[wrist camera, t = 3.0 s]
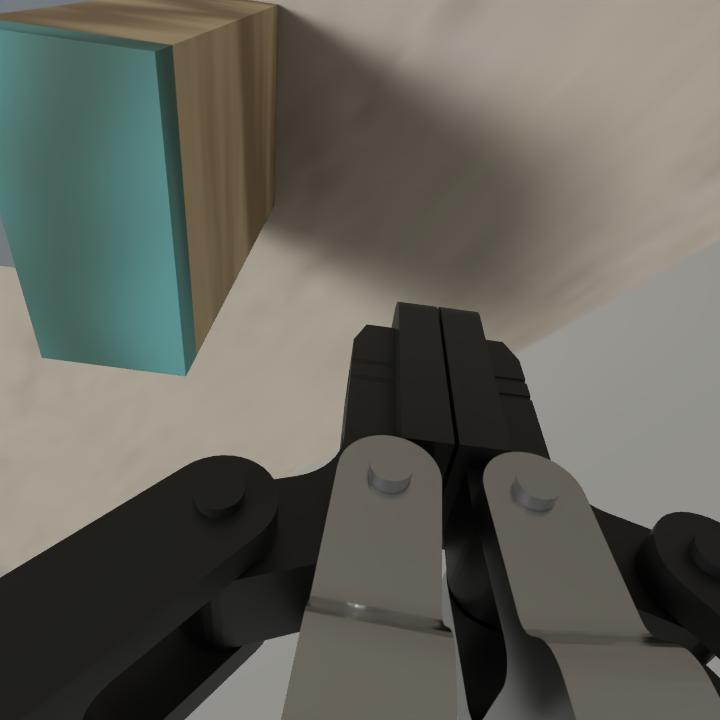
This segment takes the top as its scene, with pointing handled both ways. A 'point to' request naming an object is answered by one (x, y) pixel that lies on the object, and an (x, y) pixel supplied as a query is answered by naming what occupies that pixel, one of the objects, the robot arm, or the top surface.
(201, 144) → the block
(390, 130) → the top surface
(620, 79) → the top surface
